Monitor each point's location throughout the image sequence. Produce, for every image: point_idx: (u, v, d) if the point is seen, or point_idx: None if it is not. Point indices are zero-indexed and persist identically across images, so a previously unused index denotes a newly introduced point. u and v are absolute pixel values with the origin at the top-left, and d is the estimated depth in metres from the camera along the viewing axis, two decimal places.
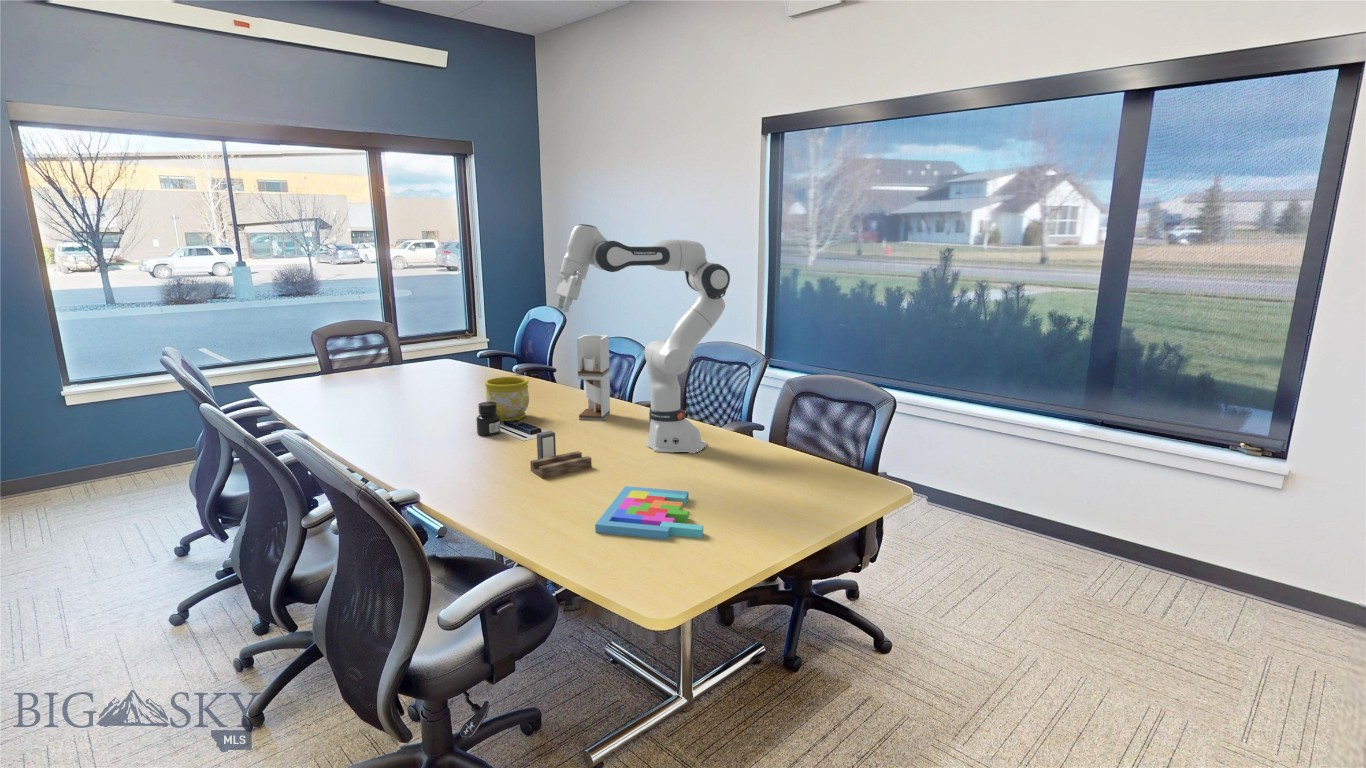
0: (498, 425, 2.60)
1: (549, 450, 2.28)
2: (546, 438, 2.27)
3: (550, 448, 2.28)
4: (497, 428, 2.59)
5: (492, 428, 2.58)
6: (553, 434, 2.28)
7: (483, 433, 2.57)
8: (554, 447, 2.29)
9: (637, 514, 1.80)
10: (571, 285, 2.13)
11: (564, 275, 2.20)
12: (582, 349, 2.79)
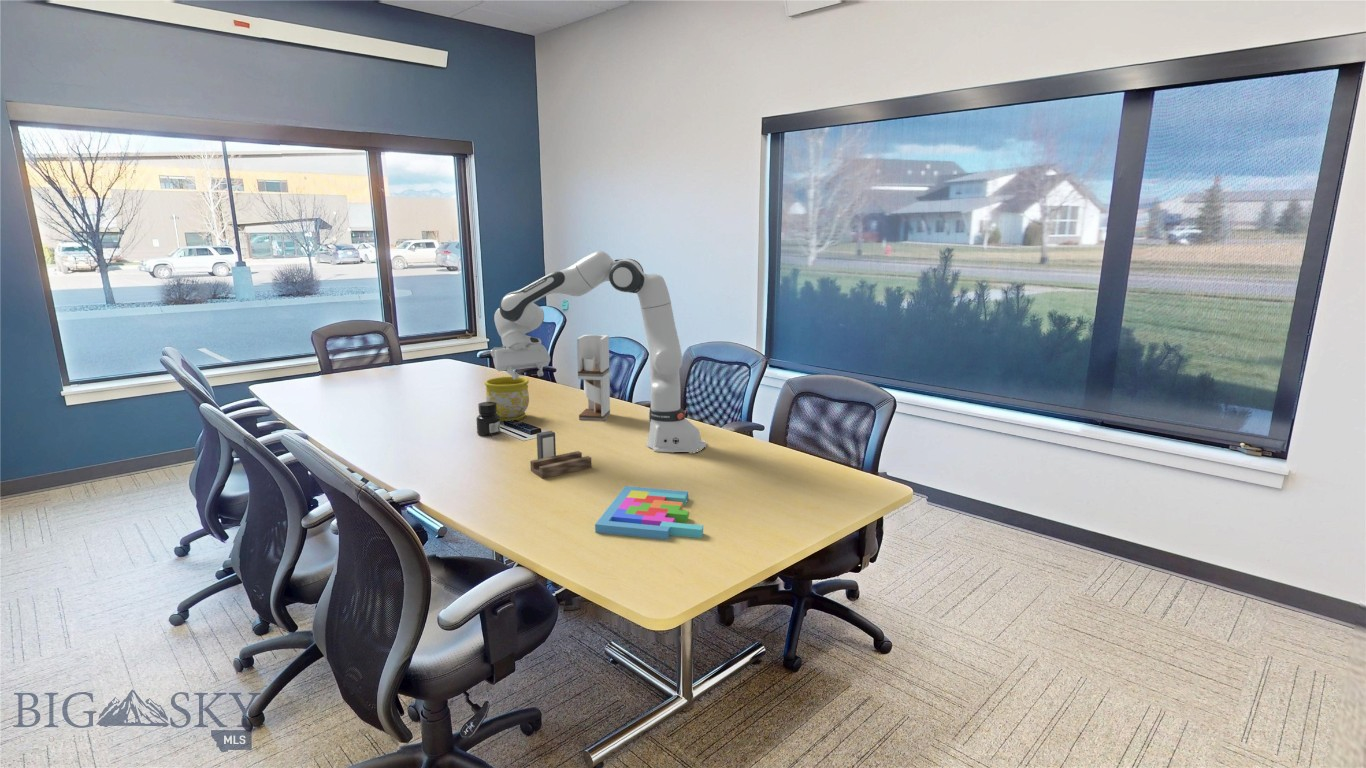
0: (498, 425, 2.60)
1: (549, 450, 2.28)
2: (546, 438, 2.27)
3: (550, 448, 2.28)
4: (497, 428, 2.59)
5: (492, 428, 2.58)
6: (553, 434, 2.28)
7: (483, 433, 2.57)
8: (554, 447, 2.29)
9: (637, 514, 1.80)
10: (494, 361, 2.32)
11: None
12: (582, 349, 2.79)
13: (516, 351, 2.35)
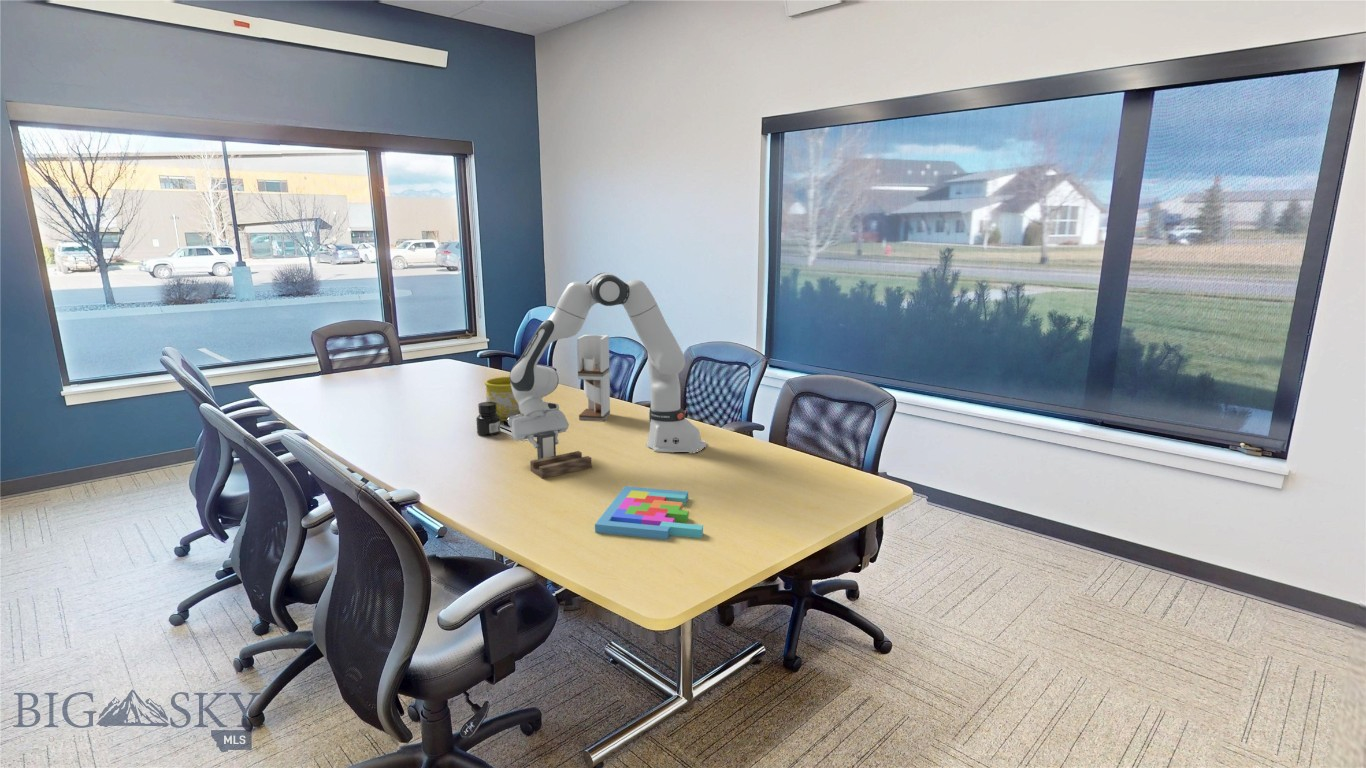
0: (498, 425, 2.60)
1: (549, 450, 2.28)
2: (546, 438, 2.27)
3: (550, 448, 2.28)
4: (497, 428, 2.59)
5: (492, 428, 2.58)
6: (553, 434, 2.28)
7: (483, 433, 2.57)
8: (554, 447, 2.29)
9: (636, 514, 1.80)
10: (511, 430, 2.27)
11: None
12: (582, 349, 2.79)
13: (534, 419, 2.30)
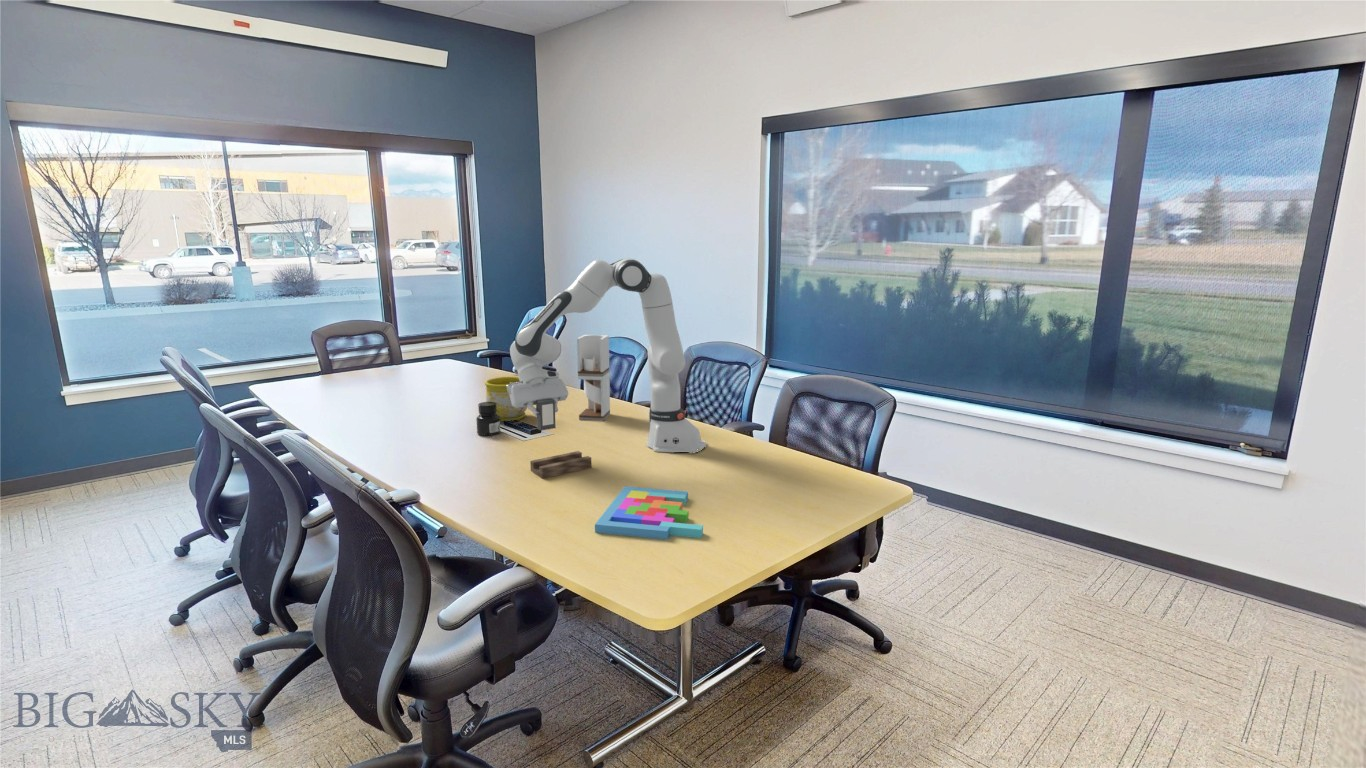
0: (498, 425, 2.60)
1: (548, 417, 2.25)
2: (546, 405, 2.24)
3: (549, 415, 2.25)
4: (497, 428, 2.59)
5: (492, 428, 2.58)
6: (553, 401, 2.25)
7: (483, 433, 2.57)
8: (554, 414, 2.26)
9: (636, 514, 1.80)
10: (510, 397, 2.24)
11: None
12: (582, 349, 2.79)
13: (533, 386, 2.27)
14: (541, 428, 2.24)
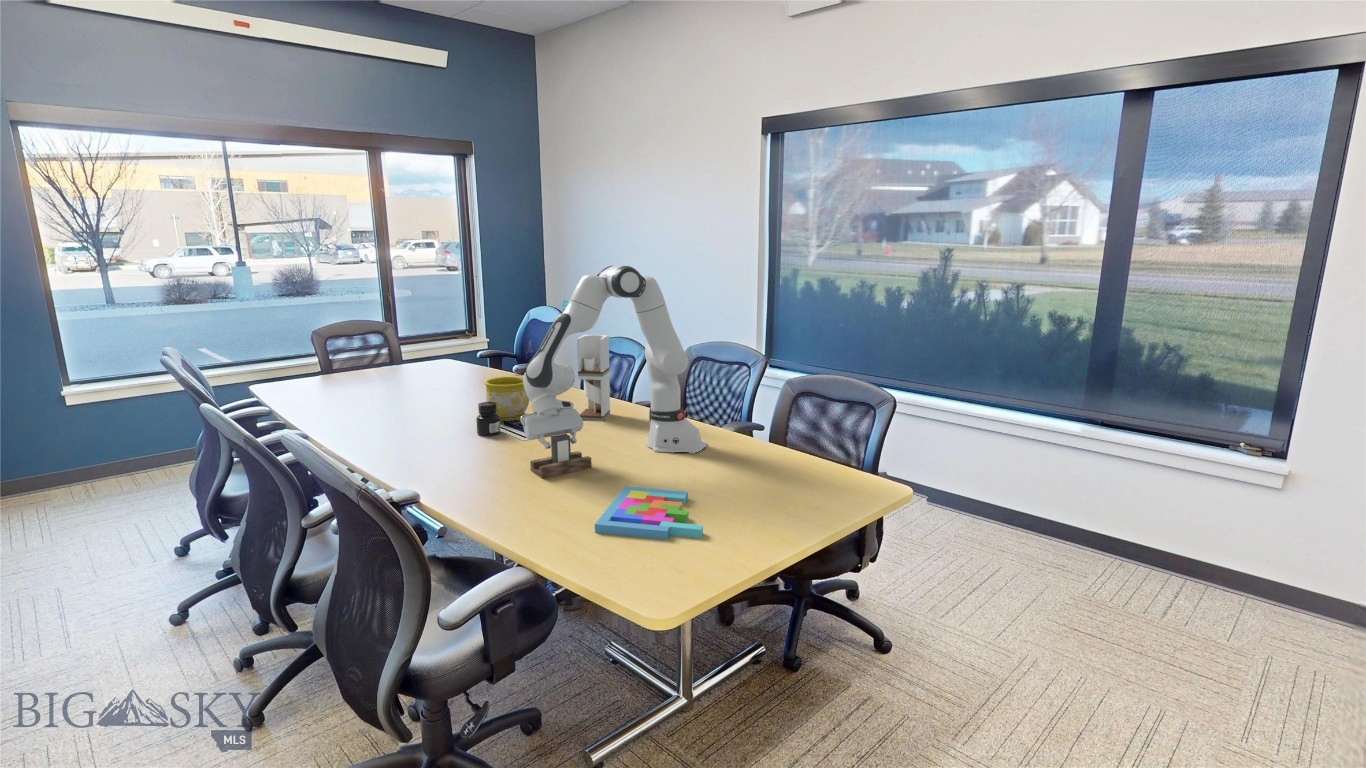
0: (498, 425, 2.60)
1: (564, 454, 2.19)
2: (561, 442, 2.18)
3: (565, 452, 2.19)
4: (497, 428, 2.59)
5: (492, 428, 2.58)
6: (568, 437, 2.19)
7: (483, 433, 2.57)
8: (569, 451, 2.20)
9: (636, 514, 1.80)
10: (524, 429, 2.18)
11: None
12: (582, 349, 2.79)
13: (547, 417, 2.21)
14: None
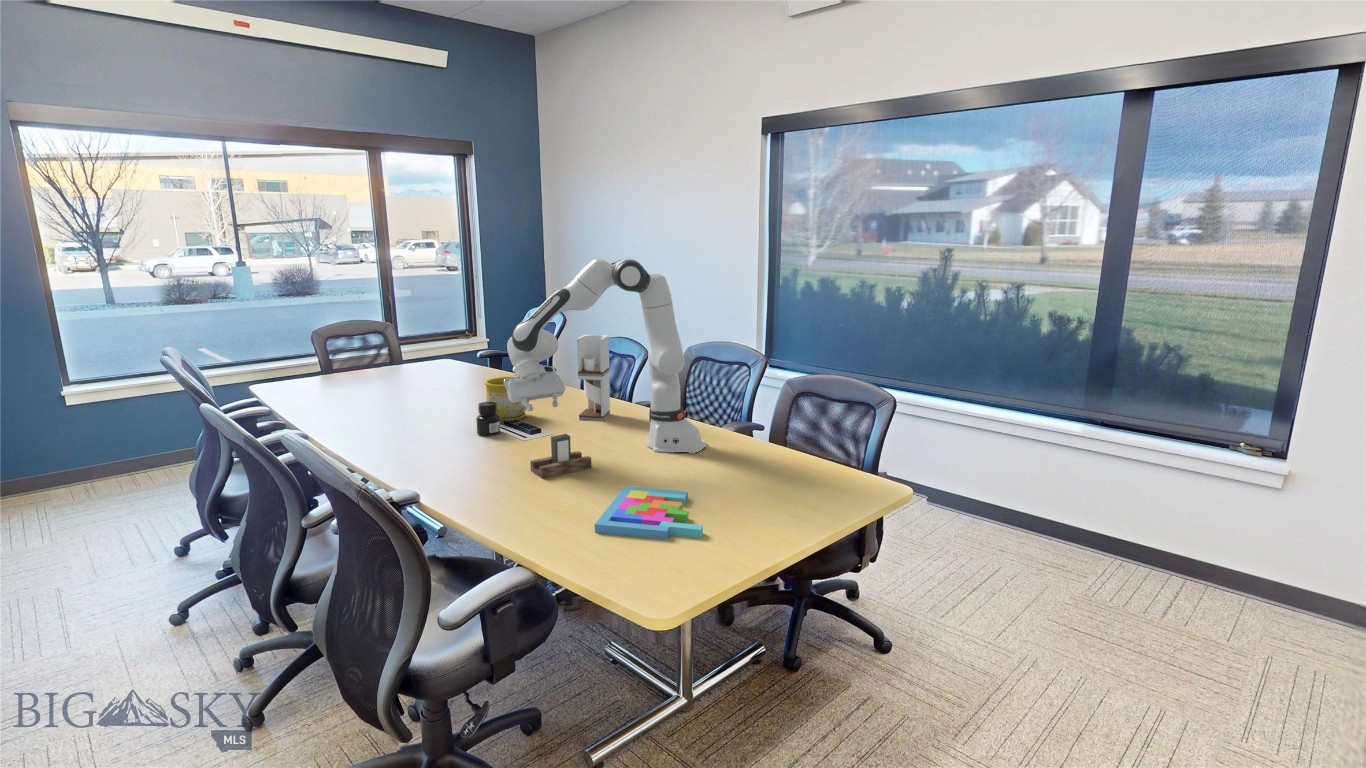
0: (498, 425, 2.60)
1: (564, 454, 2.19)
2: (561, 442, 2.18)
3: (565, 452, 2.19)
4: (497, 428, 2.59)
5: (492, 428, 2.58)
6: (568, 437, 2.19)
7: (483, 433, 2.57)
8: (569, 451, 2.20)
9: (636, 514, 1.80)
10: (507, 393, 2.26)
11: None
12: (582, 349, 2.79)
13: (530, 381, 2.29)
14: None
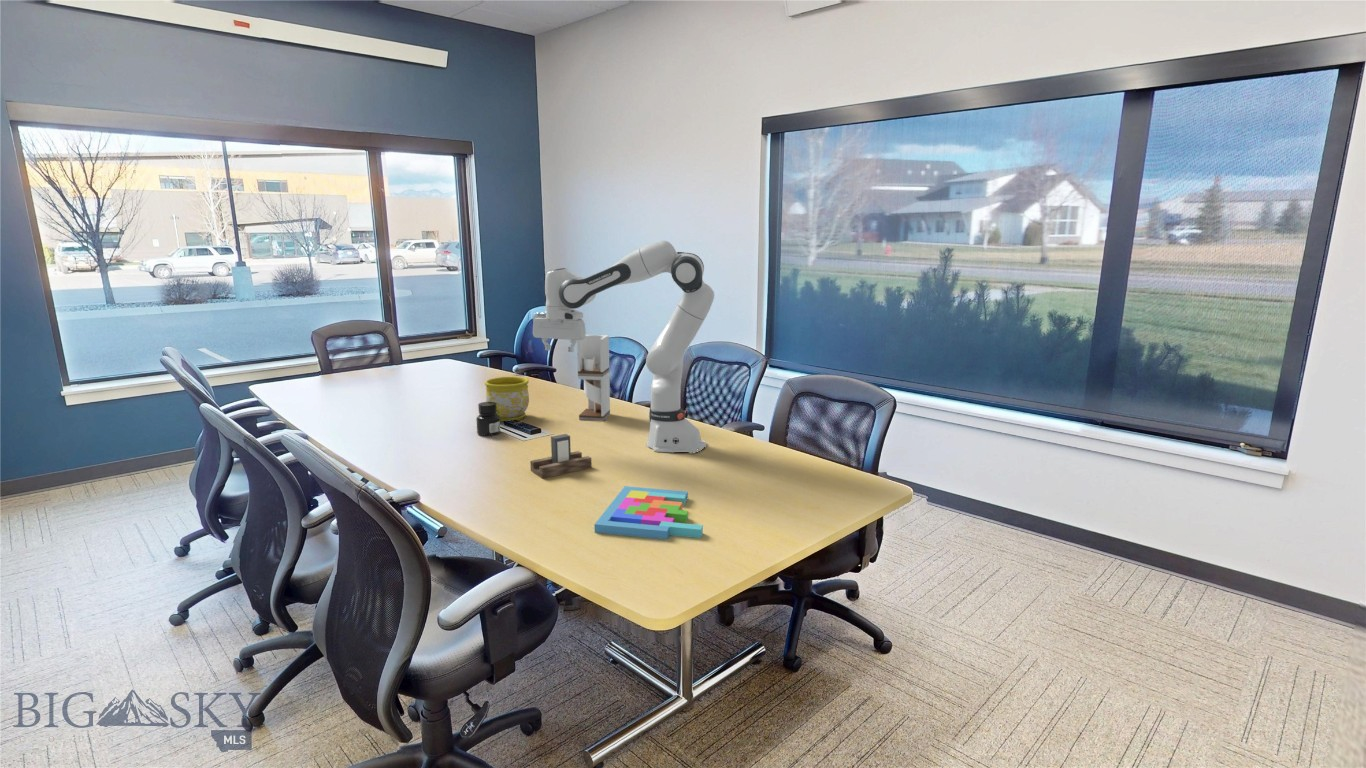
0: (498, 425, 2.60)
1: (564, 454, 2.19)
2: (561, 442, 2.18)
3: (565, 452, 2.19)
4: (497, 428, 2.59)
5: (492, 428, 2.58)
6: (568, 437, 2.19)
7: (483, 433, 2.57)
8: (569, 451, 2.20)
9: (636, 514, 1.80)
10: None
11: None
12: (582, 349, 2.79)
13: (552, 323, 2.40)
14: None
